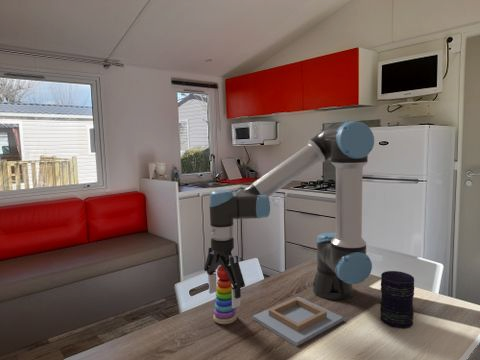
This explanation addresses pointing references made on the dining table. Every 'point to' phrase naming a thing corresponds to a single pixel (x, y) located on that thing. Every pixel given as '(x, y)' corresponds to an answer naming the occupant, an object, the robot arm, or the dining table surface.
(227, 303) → the stacking toy
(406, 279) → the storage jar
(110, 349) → the dining table surface
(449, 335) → the dining table surface
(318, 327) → the baseplate
